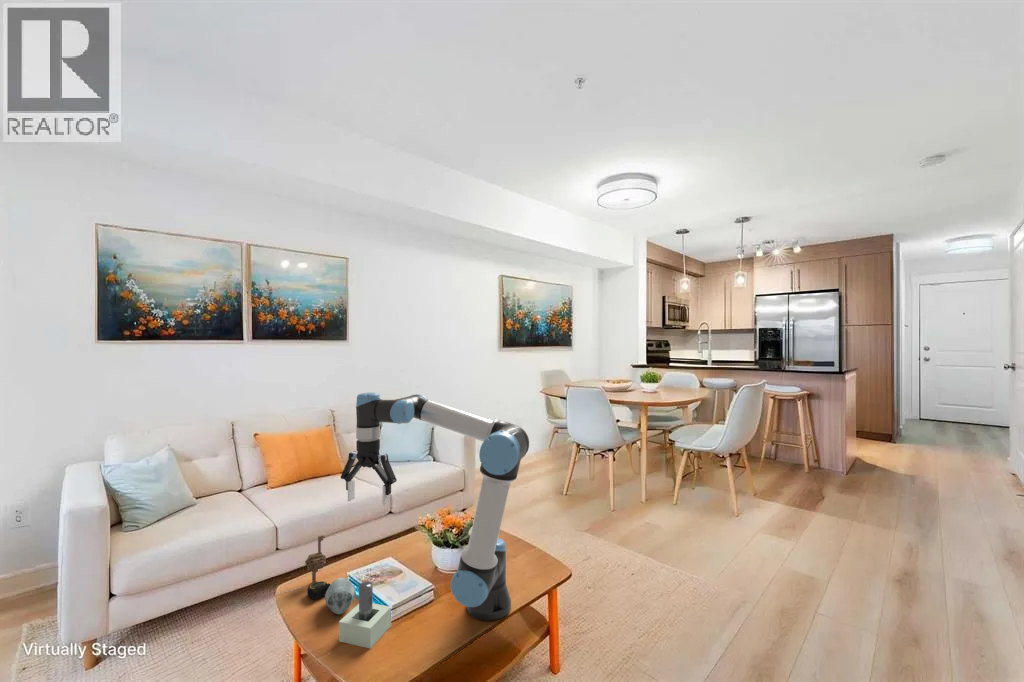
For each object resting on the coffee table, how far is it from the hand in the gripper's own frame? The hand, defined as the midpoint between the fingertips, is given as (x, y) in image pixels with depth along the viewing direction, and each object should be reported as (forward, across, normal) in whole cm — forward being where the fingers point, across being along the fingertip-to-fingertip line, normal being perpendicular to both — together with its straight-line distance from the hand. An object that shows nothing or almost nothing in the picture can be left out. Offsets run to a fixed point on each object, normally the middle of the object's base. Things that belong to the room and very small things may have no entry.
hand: (368, 502), depth 149 cm
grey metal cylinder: (+37, -6, +10) cm, 39 cm away
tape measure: (+36, +20, 0) cm, 42 cm away
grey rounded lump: (+37, +9, +3) cm, 38 cm away
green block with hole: (+37, -6, +10) cm, 39 cm away
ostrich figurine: (+37, +32, -4) cm, 49 cm away
